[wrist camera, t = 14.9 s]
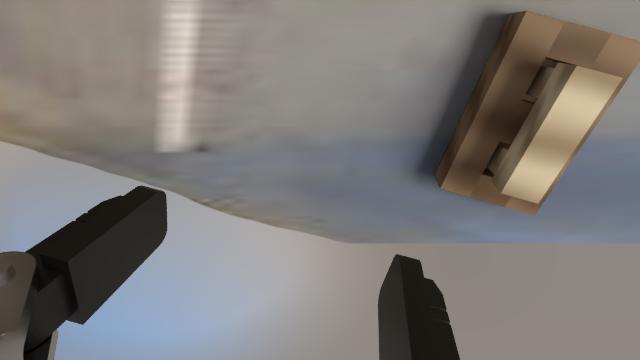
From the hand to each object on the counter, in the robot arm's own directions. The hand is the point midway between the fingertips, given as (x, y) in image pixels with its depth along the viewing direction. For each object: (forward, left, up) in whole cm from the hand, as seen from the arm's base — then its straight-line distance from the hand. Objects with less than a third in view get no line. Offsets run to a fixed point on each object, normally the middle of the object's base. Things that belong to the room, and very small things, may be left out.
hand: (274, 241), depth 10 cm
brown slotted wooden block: (-2, +21, -32) cm, 38 cm away
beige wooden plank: (-2, +21, -31) cm, 37 cm away
